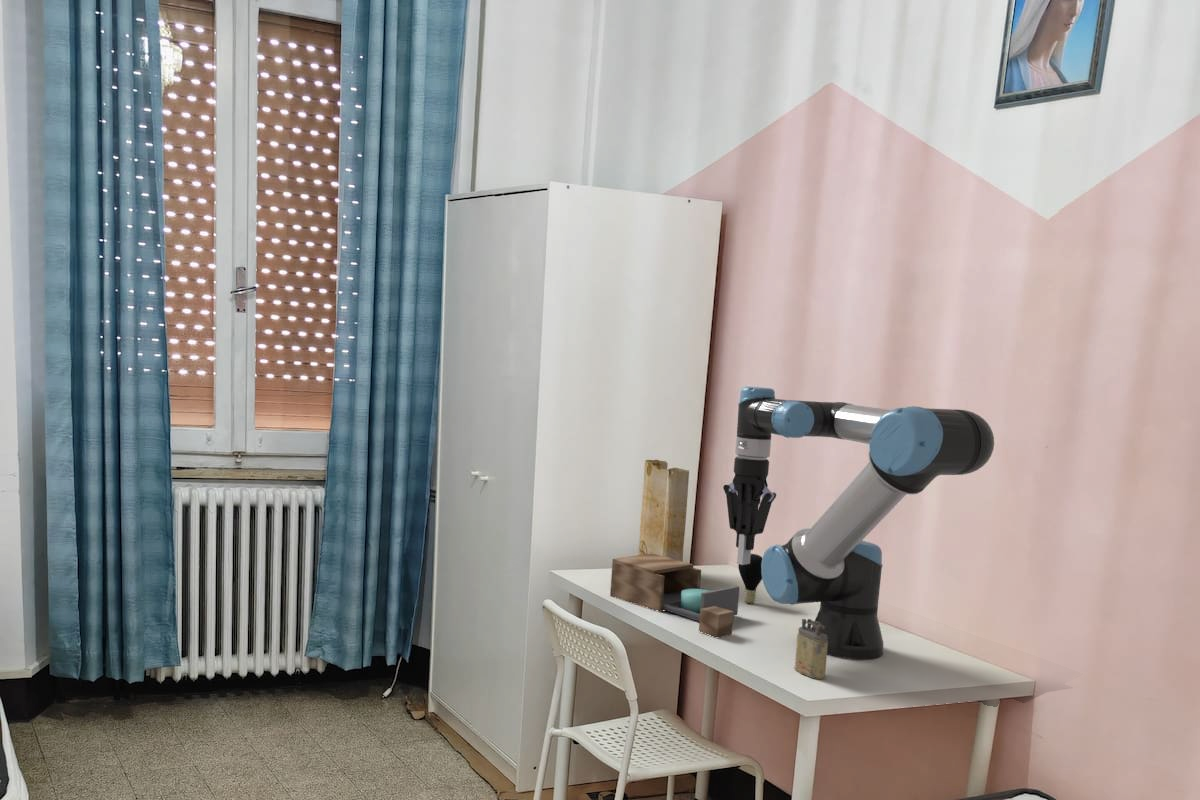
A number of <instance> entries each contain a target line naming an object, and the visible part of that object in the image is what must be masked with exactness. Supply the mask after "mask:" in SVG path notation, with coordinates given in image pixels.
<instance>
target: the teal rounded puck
mask: <svg viewBox="0 0 1200 800" xmlns="http://www.w3.org/2000/svg"><path fill="white" fill-rule="evenodd" d="M709 591H710V590H707V589H701V588H700V589H685V590H682V592H681V606H680V607H681V608H682V609H685V610H688V611H692V612H695V613H700V606H701V593H703V592H709Z"/></svg>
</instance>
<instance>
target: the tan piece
mask: <svg viewBox="0 0 1200 800" xmlns="http://www.w3.org/2000/svg"><path fill="white" fill-rule="evenodd" d="M668 465H669V464H668V462H667V461H665V460H659V459H647V460H644V473H643V483H642V484H643V486H642V497H641V498H642V499H641V510H640V512H641V513H640V525H639V529H640V530H639V540H638V541H639V542H638V555H644V554H651V553H653V554H657V555H660V556H664V557H668V558H671V559H675V560H679V561H683V559H684V544H685V536H686V535H685V534H686V523H687V522H686V521H687V509H688V496H689V494H688V493H689V481H690V480H689V478H690V470H689V469H688V470H687V469H684V468H679V467H671V468H668ZM683 562H684V561H683Z"/></svg>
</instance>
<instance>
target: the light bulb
mask: <svg viewBox="0 0 1200 800" xmlns="http://www.w3.org/2000/svg"><path fill="white" fill-rule="evenodd" d="M762 558H763V556H761V555H759V554H757V553H751V556H750V564H745V565H741V564H738V570H739V574H740V577H741V579H742V582H743V585H744V587H745V588H744V593H745V594H744V600H743V601H745V603H747V604H754V603H755V602H756V596H757V595H756V593H757V587H758V586H759V585H760V583H761V582H762V581H763V580H762V573H761V571H762V569H761V563H762Z"/></svg>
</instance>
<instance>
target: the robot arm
mask: <svg viewBox="0 0 1200 800" xmlns="http://www.w3.org/2000/svg"><path fill="white" fill-rule="evenodd" d="M775 395H776V394H775V390H774V388H770V387H761V386H744V387H742V388H741V389H740V393H739V402H738V404H737V405H738V410H737V411H738V412H737V424H736V425H737V426H736V442H735V454H736V455H737V456H735V458H734V464H733V473H734V477H733V479H732V482H730V483H729V484H724V485H723V486H722V487H723V491H724V493H725V495H726V496H725V497H726V506H727V514H728V523H729V525H728V526H729V529H730V530H733V531H735V533H736V541H735V547H736V548H737V557H736V558H737V559H736V564H738V565H739V564H741V565H745V564H750V556H751V554H752V551H753V550H754V547H755V536H756V535H761V534H763V533H764V531H765V526H766V523H767V520H768V516H769V513H770V511H771V510H770V509H771V507H772V503H773V502H774V500H775V499H776V497H777V493H776V492H772V491H771V490H770V488H768V487H769V486H768V481H767V478H768V476H769V470H770V469H769V468H770V460H769V459H768V458H769V457H770V456H771V446H772V443H771V442H772V434H774V435H777V436H782V437H784V438H787V439H789V438H793V439H795V438H796V439H800V438H803V437H817V438H818V437H822V438H833V439H839V440H843V441H844V440H845V441H851V442H857V443H860V444H861V443H862V444H867V445H868V446H869V450H868V460H869V462H868V463H867V464H866V465H865V466H864V468H863V469H862V470H861V471H860V472H859V473H858V474H857V476H856V477H855V478H854V479H853V480H852V481H851V483H849V485H847V487H846V488H845V489H844V490H843V492H841V493H840V495H839V496H838V497H837V498H835V500H834V501H833V502H832V504H831V505H829V507H828V508H827V510H826V511H824V512H823V513H822V515H821V516H820V517H819V519H817V521H816V522H815V523H814V524H813V525H812V526H811V527H810V528H802V529H799V530H798V531H796V532H795V533H794V535H792V536H791V538H790V539H789V540H788V541H787V542H786V543H785V544H782V545H781V544H775V545H771V546H769V547H768V548H767V549H766V550H765V552H764V554H763V555H762V563H761V569H762V571H761V573H762V580H761V581H762V582H763V585H764V588H765V591H766V592H767V595H769V597H770V598H771V600H772V601H774V602H776V603H778V604H781V605H790V606H792V605H798V604H801V605H802V604H811V603H820V605H819V610H818V611H817V613H816V617H815V620H814V621H819V622H821V624H822V625H824V626H825V628H824V629H821V628H820V629H819V631H820V632H822V633H824V634H826V635H827V636H828V638H827V641H828V647H827V655H830V656H834V657H838V658H842V659H843V658H844V659H851V660H870V659H872V660H873V659H877V658H880V657H882V656H883V653H884V639H883V635H882V631H881V627H880V623H879V618H878V612H879V611H878V609H879V598H880V589H881V588H880V586H881V579H882V568H883V564H882V560H883V559H882V558H883V551H882V549H881V547H880V546H879V545H877V544H875V543H873V542H870V541H866V540H864V539H865V538H866V537H867V536H868V535H869V534H870V533H871V532H872V531H873V530H874V529H875V528H876V527H877V526H878V525H879V524H880V522H882V520H883V519H885V517H886V516H888V515H889V513H890V512H891V511H892V510H893V509H894V508H895V507H896V506H897V505H898V504H899V503H900V502H901V501H902V500H903V498H905V497H906V496H907V495H917V494H918V495H919V493H921V492H923V491H924V490H925V489H926V488H927V487H928V485H929V484H931V482H932V481H934V480H935V479H936V478H937V477H939V476H960V475H961V476H963V475H967V474H968V475H969V474H971V473H974V472H977V471H978V470H980V469H981V468H982V467H984V466H985V465H986V464H987V463H988V462H989V460H990V458H991V457H992V456H993V455H992V454H993V452H994V447H995V437H994V433H993V429H992V428H991V426H990V425H989V423H988V422H987V421H986V420H985V419H984V418H983V417H982V416H980V415H979V414H977V413H975V412H973V411H969V410H965V409H956V408H955V409H953V408H951V409H950V408H949V409H948V408H946V409H945V408H928V407H927V408H925V407H922V406H916V405H915V406H913V405H912V406H906V407H897V408H893V409H885V408H880V407H879V408H878V407H872V406H871V407H870V406H863V405H856V404H852V403H848V402H844V401H841V402H840V401H835V402H832V401H813V400H812V401H809V400H794V399H793V400H791V399H783V398H782V399H779V398H776V396H775ZM929 486H930V485H929ZM811 628H813V625H811ZM813 629H814V628H813Z"/></svg>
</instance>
